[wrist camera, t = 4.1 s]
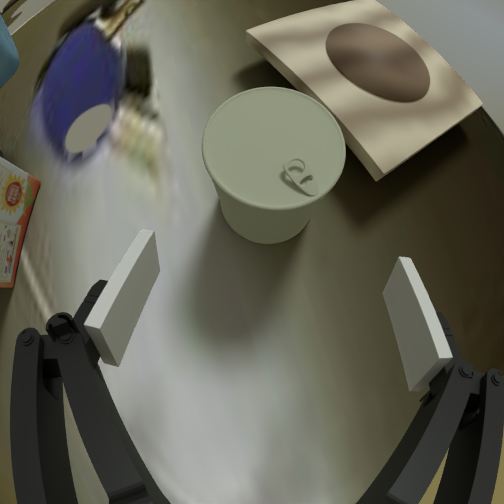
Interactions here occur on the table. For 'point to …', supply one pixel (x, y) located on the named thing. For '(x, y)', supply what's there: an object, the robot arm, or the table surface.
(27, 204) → the cracker box
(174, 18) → the table surface
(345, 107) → the stand
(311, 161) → the can
